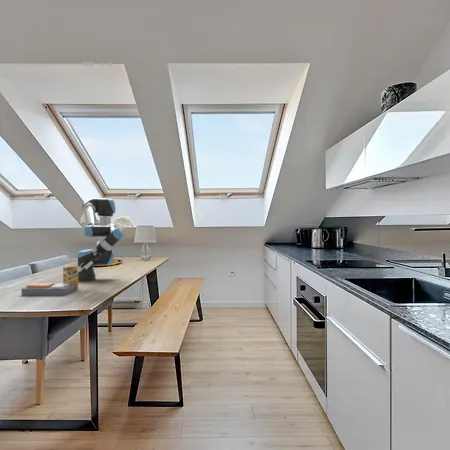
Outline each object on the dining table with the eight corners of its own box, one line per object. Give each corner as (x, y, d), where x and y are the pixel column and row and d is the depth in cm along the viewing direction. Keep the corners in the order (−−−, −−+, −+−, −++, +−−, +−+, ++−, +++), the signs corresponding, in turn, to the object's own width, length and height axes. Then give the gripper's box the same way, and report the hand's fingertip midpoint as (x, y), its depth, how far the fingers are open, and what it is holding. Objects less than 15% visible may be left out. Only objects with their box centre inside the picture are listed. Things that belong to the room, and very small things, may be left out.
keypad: (32, 290, 228) (32, 282, 228) (73, 290, 229) (73, 282, 229) (21, 295, 214) (21, 286, 214) (64, 295, 215) (64, 286, 215)
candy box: (66, 290, 230) (66, 267, 230) (62, 289, 233) (62, 266, 233) (78, 288, 238) (78, 266, 238) (74, 287, 240) (75, 265, 240)
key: (33, 287, 225) (33, 283, 225) (53, 287, 226) (53, 283, 226) (26, 289, 217) (26, 285, 217) (47, 289, 218) (47, 285, 218)
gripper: (102, 252, 223) (78, 276, 222) (113, 249, 248) (91, 270, 247) (94, 244, 223) (70, 267, 222) (105, 242, 248) (83, 263, 247)
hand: (81, 269), depth 235 cm, fingers open, 13 cm apart
